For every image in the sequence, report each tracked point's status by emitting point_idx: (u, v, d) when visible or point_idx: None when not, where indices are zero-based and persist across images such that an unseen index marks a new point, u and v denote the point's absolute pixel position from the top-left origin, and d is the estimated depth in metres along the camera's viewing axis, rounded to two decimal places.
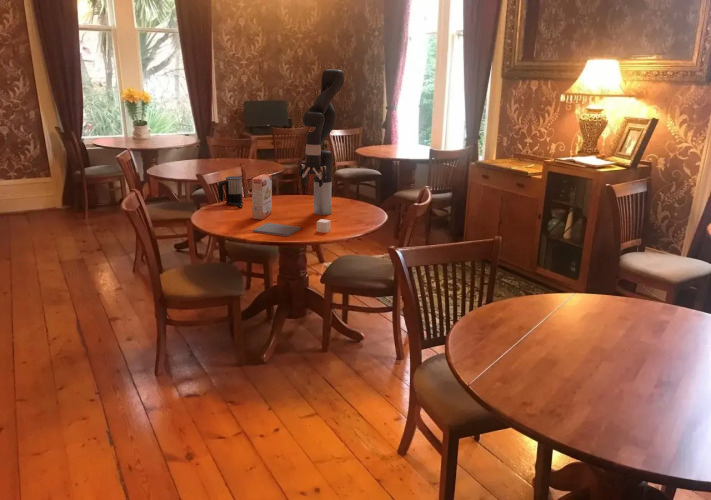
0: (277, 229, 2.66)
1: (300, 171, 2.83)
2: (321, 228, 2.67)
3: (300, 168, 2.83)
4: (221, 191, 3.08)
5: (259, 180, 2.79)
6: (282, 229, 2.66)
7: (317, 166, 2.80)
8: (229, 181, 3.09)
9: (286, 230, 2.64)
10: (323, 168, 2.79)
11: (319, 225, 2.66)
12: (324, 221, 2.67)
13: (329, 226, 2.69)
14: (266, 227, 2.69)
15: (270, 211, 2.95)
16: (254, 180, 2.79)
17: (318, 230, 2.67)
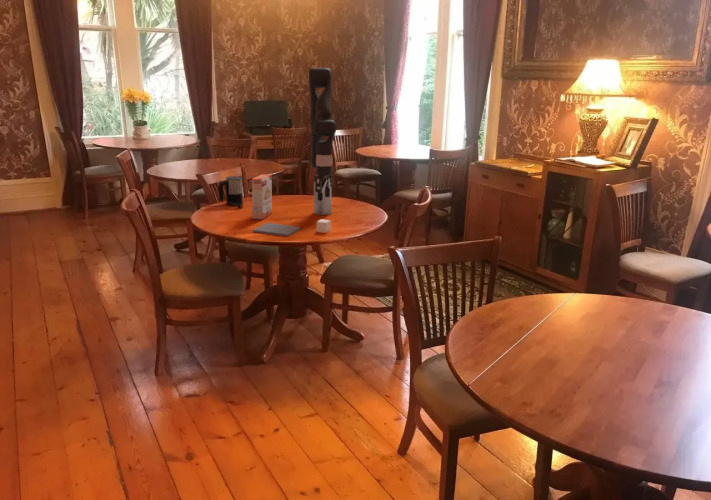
0: (277, 229, 2.66)
1: (320, 186, 2.56)
2: (321, 228, 2.67)
3: (320, 183, 2.56)
4: (221, 191, 3.08)
5: (259, 180, 2.79)
6: (282, 229, 2.66)
7: (328, 176, 2.64)
8: (229, 181, 3.09)
9: (286, 230, 2.64)
10: (331, 176, 2.67)
11: (319, 225, 2.66)
12: (324, 221, 2.67)
13: (329, 226, 2.69)
14: (266, 227, 2.69)
15: (270, 211, 2.95)
16: (254, 180, 2.79)
17: (318, 230, 2.67)
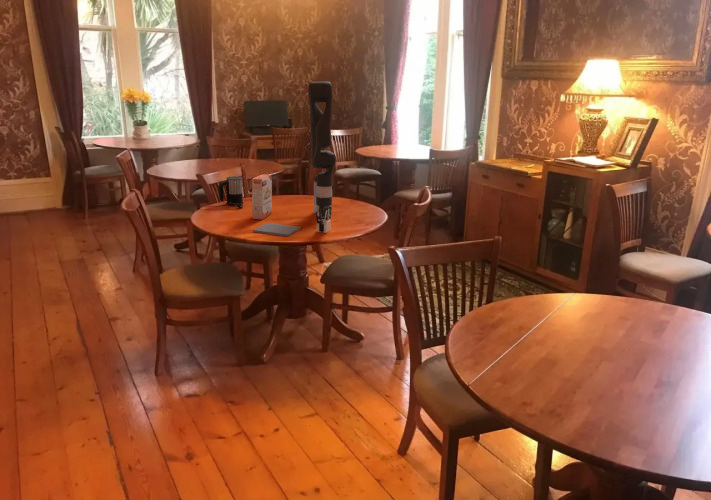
0: (277, 229, 2.66)
1: (321, 219, 2.62)
2: None
3: (321, 216, 2.61)
4: (221, 191, 3.08)
5: (259, 180, 2.79)
6: (282, 229, 2.66)
7: (328, 206, 2.68)
8: (229, 181, 3.09)
9: (286, 230, 2.64)
10: (331, 208, 2.71)
11: None
12: (324, 221, 2.67)
13: (329, 226, 2.69)
14: (266, 227, 2.69)
15: (270, 211, 2.95)
16: (254, 180, 2.79)
17: (318, 230, 2.67)
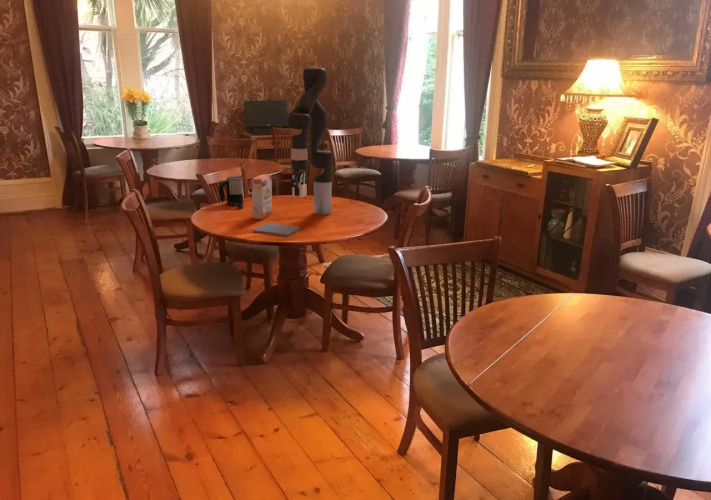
0: (277, 229, 2.66)
1: (296, 182, 2.55)
2: None
3: (296, 179, 2.54)
4: (222, 191, 3.08)
5: (259, 180, 2.79)
6: (282, 229, 2.66)
7: (304, 170, 2.62)
8: (230, 181, 3.08)
9: (286, 230, 2.64)
10: (307, 172, 2.65)
11: None
12: (300, 185, 2.60)
13: (305, 190, 2.62)
14: (266, 227, 2.69)
15: (270, 211, 2.95)
16: (254, 180, 2.79)
17: (294, 194, 2.61)
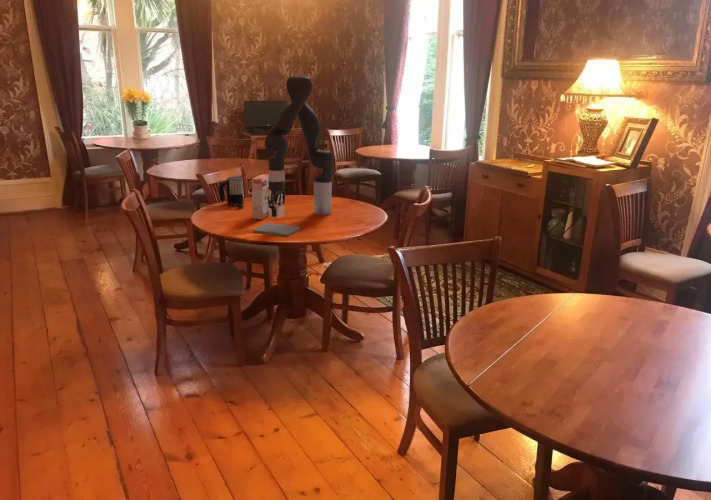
0: (277, 229, 2.66)
1: (273, 203, 2.58)
2: None
3: (273, 200, 2.57)
4: (222, 191, 3.08)
5: (259, 180, 2.79)
6: (282, 229, 2.66)
7: (281, 191, 2.64)
8: (230, 181, 3.08)
9: (286, 230, 2.64)
10: (284, 193, 2.67)
11: None
12: (277, 206, 2.63)
13: (282, 211, 2.65)
14: (266, 227, 2.69)
15: None
16: (254, 180, 2.79)
17: (271, 215, 2.63)
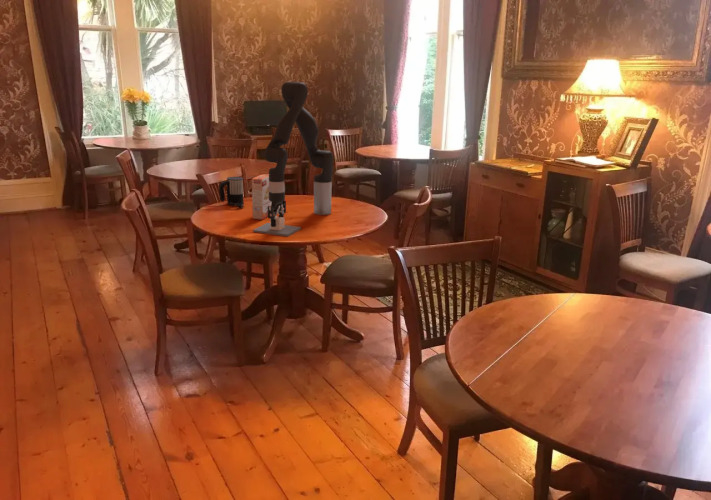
0: None
1: (273, 213, 2.59)
2: None
3: (273, 210, 2.58)
4: (222, 191, 3.08)
5: (259, 180, 2.79)
6: (282, 229, 2.66)
7: (281, 202, 2.66)
8: (230, 181, 3.08)
9: (286, 230, 2.64)
10: (285, 202, 2.69)
11: None
12: (277, 218, 2.65)
13: (283, 223, 2.67)
14: (266, 227, 2.69)
15: None
16: (254, 180, 2.79)
17: (272, 227, 2.65)
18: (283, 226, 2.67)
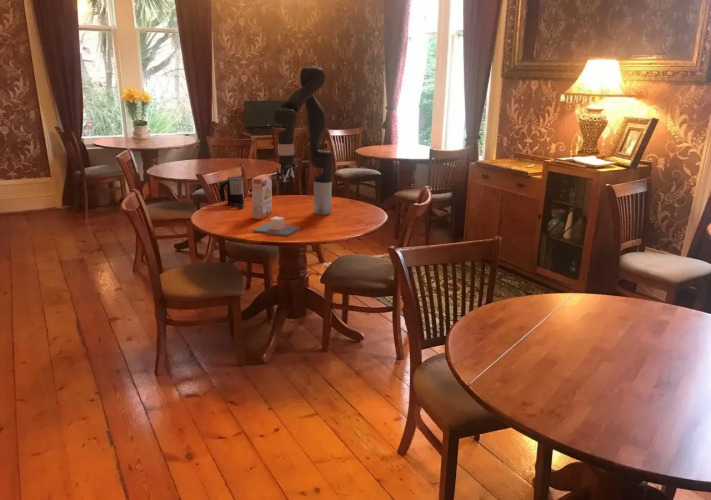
0: None
1: (282, 176, 2.56)
2: (275, 226, 2.65)
3: (282, 172, 2.56)
4: (222, 191, 3.08)
5: (259, 180, 2.79)
6: (282, 229, 2.66)
7: (291, 165, 2.63)
8: (230, 181, 3.08)
9: (286, 230, 2.64)
10: (294, 165, 2.66)
11: (273, 222, 2.64)
12: (277, 218, 2.65)
13: (283, 223, 2.67)
14: (266, 227, 2.69)
15: (270, 211, 2.95)
16: (254, 180, 2.79)
17: (272, 227, 2.65)
18: (283, 226, 2.67)
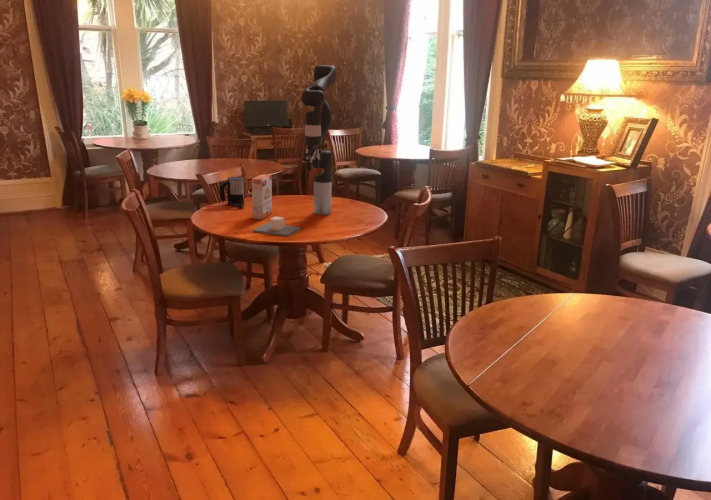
0: None
1: (309, 156, 2.59)
2: (275, 226, 2.65)
3: (309, 153, 2.59)
4: (222, 191, 3.08)
5: (259, 180, 2.79)
6: (282, 229, 2.66)
7: (317, 147, 2.67)
8: (231, 181, 3.08)
9: (286, 230, 2.64)
10: (320, 147, 2.70)
11: (273, 222, 2.64)
12: (277, 218, 2.65)
13: (283, 223, 2.67)
14: (266, 227, 2.69)
15: (270, 211, 2.95)
16: (254, 180, 2.79)
17: (272, 227, 2.65)
18: (283, 226, 2.67)
